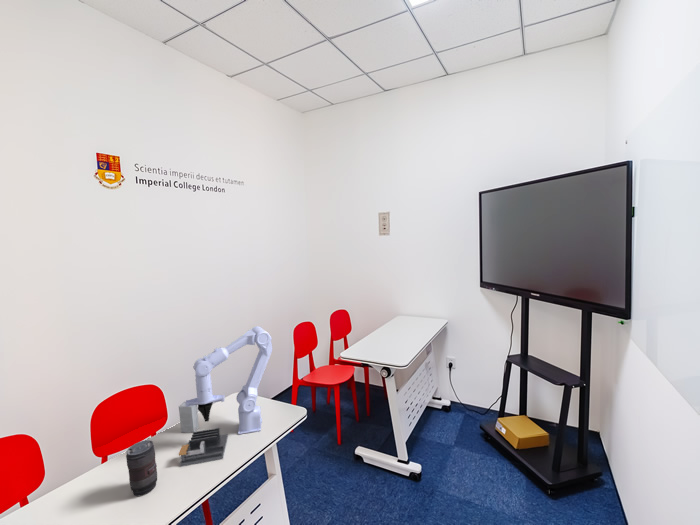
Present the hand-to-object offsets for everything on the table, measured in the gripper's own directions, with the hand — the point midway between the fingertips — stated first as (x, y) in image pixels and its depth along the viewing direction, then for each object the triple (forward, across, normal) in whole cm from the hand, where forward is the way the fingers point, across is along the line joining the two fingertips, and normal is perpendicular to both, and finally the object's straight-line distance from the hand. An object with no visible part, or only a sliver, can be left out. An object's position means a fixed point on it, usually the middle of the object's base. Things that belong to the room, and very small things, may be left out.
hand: (207, 420), depth 135 cm
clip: (+8, +4, +10) cm, 13 cm away
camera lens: (+10, +17, +20) cm, 28 cm away
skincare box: (+10, +10, -12) cm, 18 cm away
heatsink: (+9, 0, +6) cm, 11 cm away
